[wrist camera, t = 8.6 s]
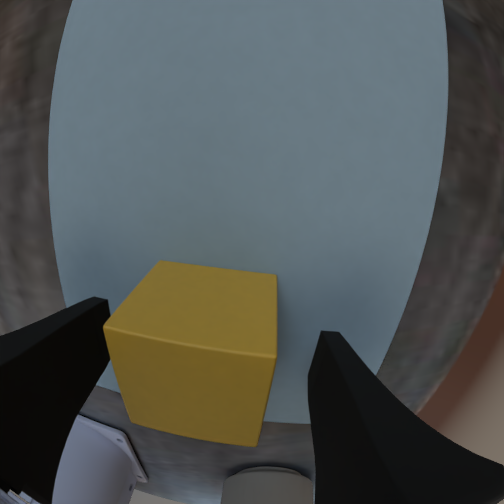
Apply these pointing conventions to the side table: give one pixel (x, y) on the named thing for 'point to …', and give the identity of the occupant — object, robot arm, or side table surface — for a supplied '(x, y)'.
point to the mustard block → (197, 351)
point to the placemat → (253, 158)
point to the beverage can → (267, 487)
